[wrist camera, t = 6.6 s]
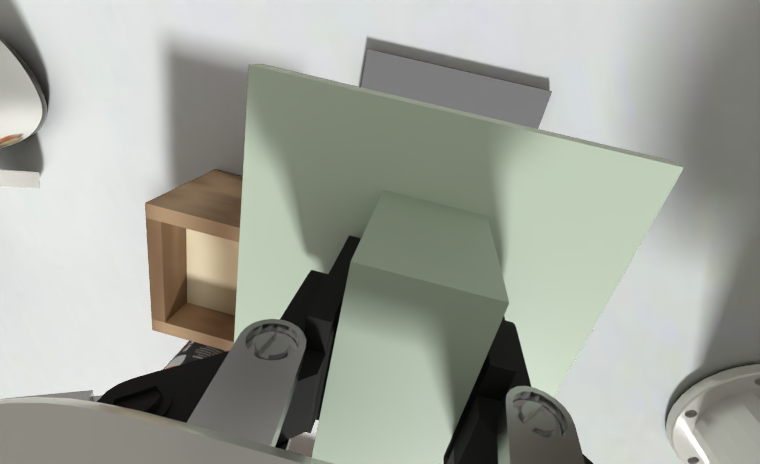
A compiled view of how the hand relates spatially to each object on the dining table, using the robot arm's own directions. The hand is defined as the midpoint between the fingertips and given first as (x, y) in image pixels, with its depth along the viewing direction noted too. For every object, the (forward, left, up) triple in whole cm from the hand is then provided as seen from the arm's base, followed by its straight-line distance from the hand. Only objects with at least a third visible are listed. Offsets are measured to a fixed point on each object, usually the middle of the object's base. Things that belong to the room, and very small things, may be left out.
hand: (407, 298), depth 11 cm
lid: (0, 0, -2) cm, 2 cm away
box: (+11, +10, -18) cm, 24 cm away
